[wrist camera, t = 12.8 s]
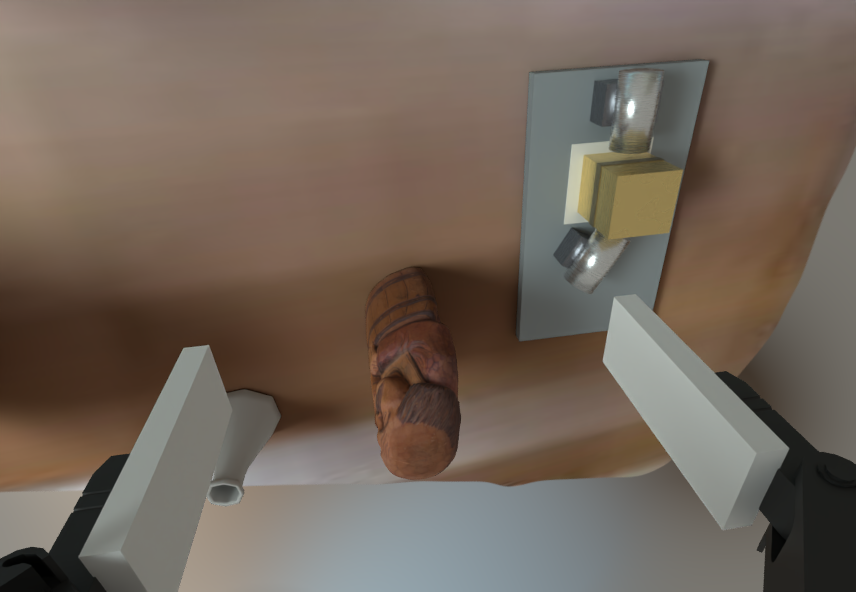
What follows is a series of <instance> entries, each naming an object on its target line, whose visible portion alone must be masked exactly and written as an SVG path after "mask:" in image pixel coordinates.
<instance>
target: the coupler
mask: <svg viewBox="0 0 856 592" xmlns="http://www.w3.org/2000/svg"><path fill="white" fill-rule="evenodd" d="M682 173H683V169H681V168H679V167H676V166H674V165H672V164H670V163H668V162H666V161H664V159H662V158H660V157H656V156H654V155H652V154H650V153H647V152H645V153H639V154H624V153H617V152H609V153H598V154H588V155H584V157H583V166H582V175H581V184H580V192H579V201H578V210H577V212H578V213H579V214H580V215H581V216H582V217H583V218H585V219H586V220H587V221H588V222H589V224H590V225H591V226H592V227H595V228H596V229H597V230H598V231H599V232H600V233H601V234H602V235H603V236H605V237H606V238H607V239H608V240H610V239H619V238H628V237H637V236H646V235H655V234H664V233H669V232H670V227H671V223H672V218H673V214H674V209H675V205H676V200H677V196H678V191H679V187H680V182H681V178H682Z"/></svg>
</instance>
